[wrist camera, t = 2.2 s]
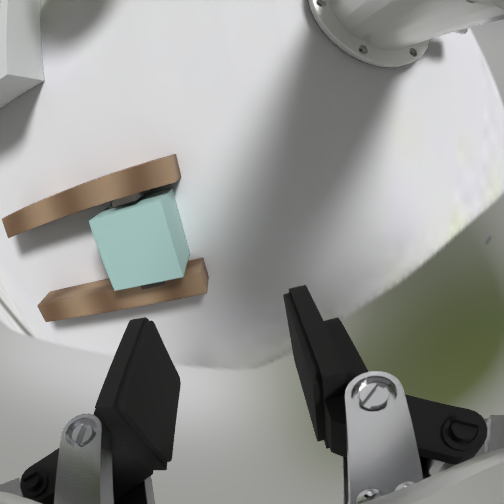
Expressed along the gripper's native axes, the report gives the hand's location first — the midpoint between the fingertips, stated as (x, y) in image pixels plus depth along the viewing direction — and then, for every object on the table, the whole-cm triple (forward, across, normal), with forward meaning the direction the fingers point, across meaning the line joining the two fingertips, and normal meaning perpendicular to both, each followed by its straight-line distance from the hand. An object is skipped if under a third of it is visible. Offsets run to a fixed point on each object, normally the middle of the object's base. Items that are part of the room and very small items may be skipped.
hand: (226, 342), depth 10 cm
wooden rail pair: (+17, +12, 0) cm, 21 cm away
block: (+18, +7, 0) cm, 19 cm away
